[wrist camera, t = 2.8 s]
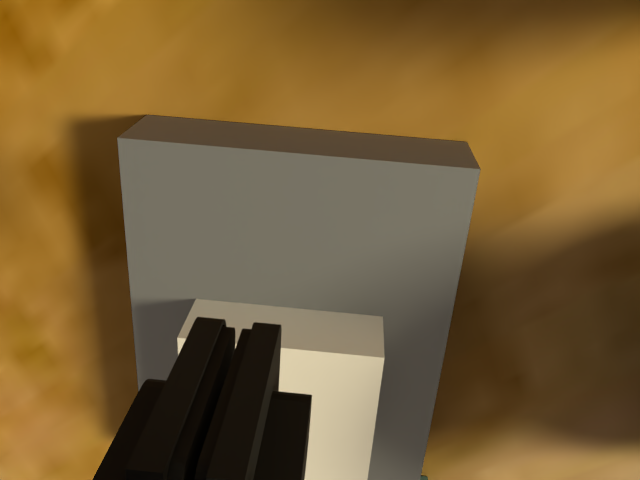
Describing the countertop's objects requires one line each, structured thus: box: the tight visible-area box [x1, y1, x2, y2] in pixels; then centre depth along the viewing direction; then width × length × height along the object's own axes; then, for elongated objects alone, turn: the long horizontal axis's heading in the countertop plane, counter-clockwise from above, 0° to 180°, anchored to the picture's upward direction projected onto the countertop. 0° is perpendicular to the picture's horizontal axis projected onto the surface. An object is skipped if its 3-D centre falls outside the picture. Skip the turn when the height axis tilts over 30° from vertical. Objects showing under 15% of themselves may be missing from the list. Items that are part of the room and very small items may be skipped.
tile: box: [177, 299, 385, 480], centre depth 23 cm, size 8×7×2 cm
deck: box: [117, 115, 480, 480], centre depth 25 cm, size 16×12×3 cm
